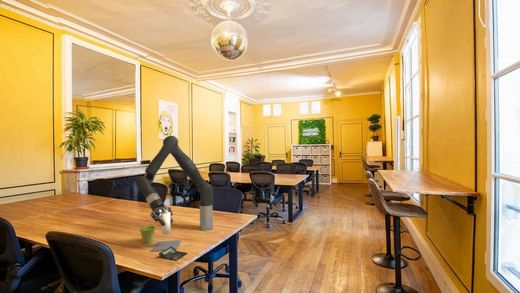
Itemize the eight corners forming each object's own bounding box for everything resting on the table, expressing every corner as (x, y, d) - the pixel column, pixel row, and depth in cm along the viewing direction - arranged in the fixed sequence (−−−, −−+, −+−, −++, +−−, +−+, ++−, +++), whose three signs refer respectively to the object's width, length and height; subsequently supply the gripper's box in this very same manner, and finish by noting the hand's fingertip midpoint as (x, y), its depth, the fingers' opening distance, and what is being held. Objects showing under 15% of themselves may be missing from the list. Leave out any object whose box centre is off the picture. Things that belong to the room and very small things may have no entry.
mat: (180, 241, 154) (180, 240, 154) (176, 250, 140) (176, 249, 140) (158, 242, 152) (157, 241, 152) (150, 251, 138) (150, 250, 138)
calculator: (176, 261, 126) (175, 255, 126) (158, 258, 130) (158, 252, 130) (187, 254, 135) (187, 248, 135) (171, 251, 139) (171, 246, 139)
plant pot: (141, 245, 148) (141, 231, 148) (138, 241, 155) (138, 227, 155) (157, 242, 153) (157, 228, 153) (154, 237, 161) (153, 224, 161)
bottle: (171, 231, 149) (171, 209, 149) (169, 234, 144) (169, 211, 144) (162, 231, 148) (162, 209, 148) (160, 234, 143) (160, 211, 143)
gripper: (147, 200, 144) (161, 223, 138) (167, 196, 156) (180, 217, 150) (141, 208, 146) (155, 231, 140) (161, 203, 159) (174, 224, 153)
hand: (168, 223), depth 145 cm, fingers closed on bottle, 5 cm apart
